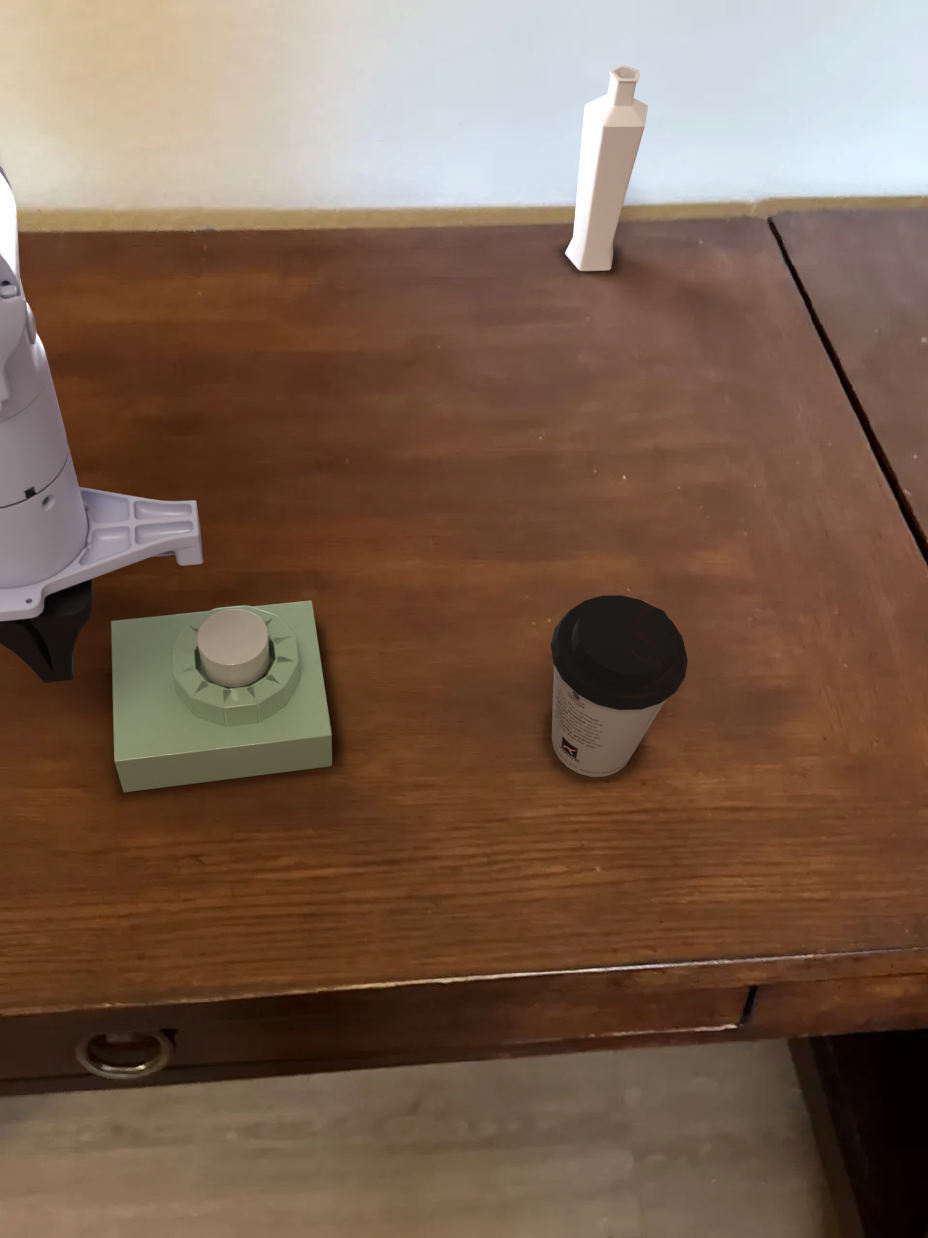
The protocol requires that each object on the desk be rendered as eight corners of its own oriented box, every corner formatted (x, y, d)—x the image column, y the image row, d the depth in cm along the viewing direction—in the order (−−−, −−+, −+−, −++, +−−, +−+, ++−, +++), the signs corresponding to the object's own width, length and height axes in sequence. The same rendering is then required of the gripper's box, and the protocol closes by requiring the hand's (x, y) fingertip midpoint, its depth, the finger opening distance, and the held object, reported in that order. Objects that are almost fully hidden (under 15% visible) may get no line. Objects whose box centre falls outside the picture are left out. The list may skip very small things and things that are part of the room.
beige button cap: (202, 691, 62) (199, 668, 61) (198, 635, 65) (194, 612, 63) (273, 683, 63) (271, 660, 61) (266, 628, 65) (264, 605, 64)
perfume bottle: (551, 262, 94) (581, 77, 82) (574, 234, 97) (606, 50, 85) (605, 283, 93) (643, 98, 81) (627, 254, 96) (667, 70, 84)
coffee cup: (550, 806, 65) (577, 703, 57) (516, 699, 69) (538, 589, 61) (671, 784, 66) (715, 681, 59) (631, 681, 70) (667, 571, 63)
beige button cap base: (123, 793, 64) (108, 742, 60) (119, 654, 69) (105, 600, 65) (332, 766, 66) (331, 716, 62) (313, 634, 71) (311, 580, 67)
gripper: (-234, 554, 42) (-116, 756, 53) (192, 516, 45) (222, 717, 55) (-207, 414, 46) (-102, 628, 57) (182, 386, 49) (212, 596, 59)
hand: (58, 664), depth 56 cm, fingers closed
